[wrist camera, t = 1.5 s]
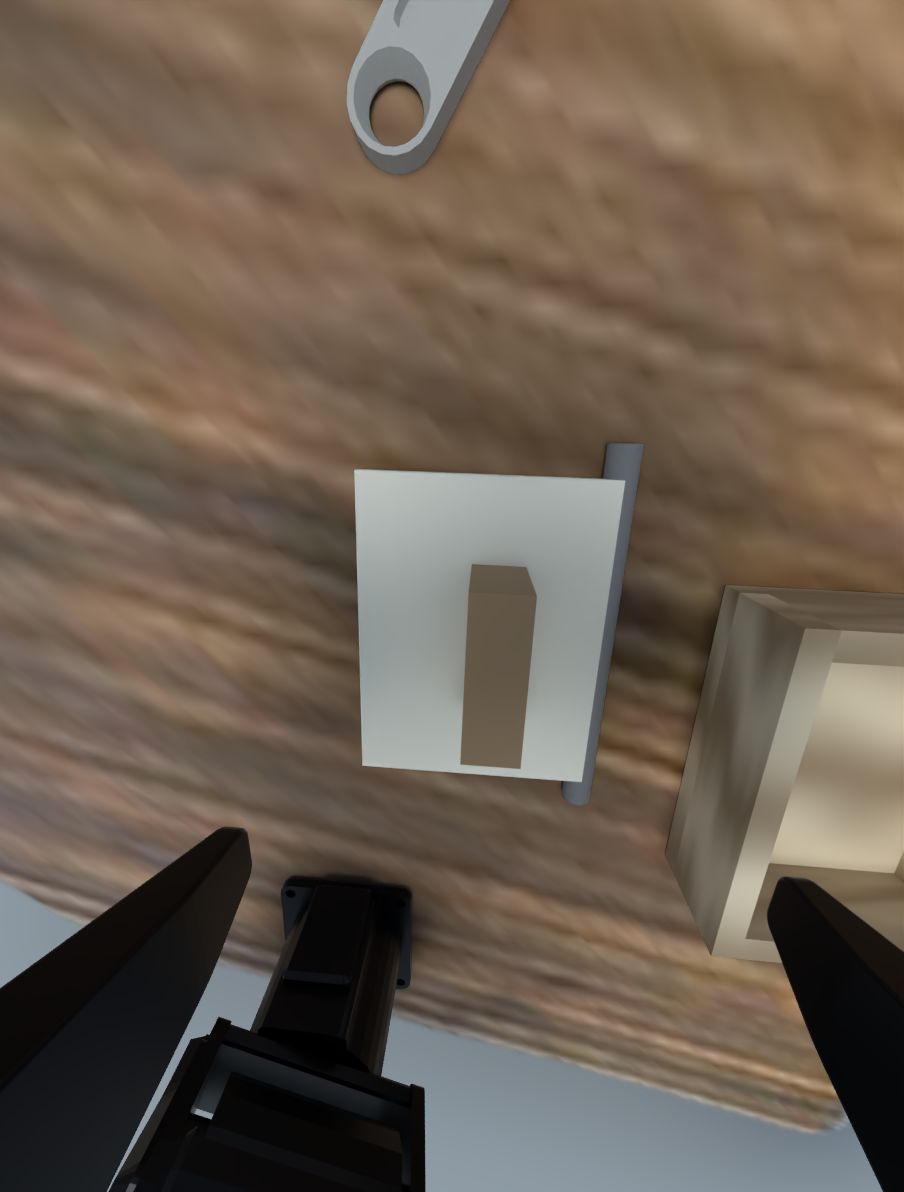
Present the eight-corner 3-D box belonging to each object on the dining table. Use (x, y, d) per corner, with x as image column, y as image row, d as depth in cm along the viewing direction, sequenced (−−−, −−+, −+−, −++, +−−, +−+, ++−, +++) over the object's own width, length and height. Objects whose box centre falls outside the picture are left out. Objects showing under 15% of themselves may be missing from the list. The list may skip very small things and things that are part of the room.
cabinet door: (362, 434, 17) (316, 428, 12) (637, 444, 16) (696, 441, 12) (369, 770, 21) (338, 856, 17) (586, 787, 21) (615, 880, 16)
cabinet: (732, 556, 17) (874, 615, 11) (1054, 571, 16) (1400, 644, 10) (661, 872, 22) (732, 1042, 15) (911, 893, 21) (1090, 1078, 15)
